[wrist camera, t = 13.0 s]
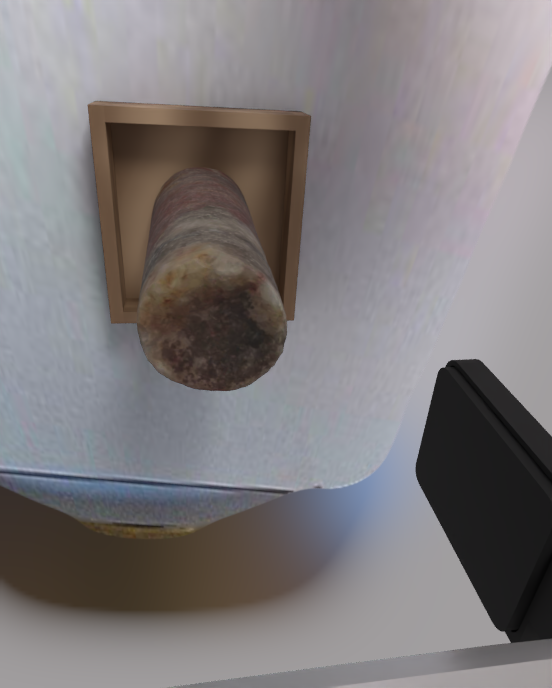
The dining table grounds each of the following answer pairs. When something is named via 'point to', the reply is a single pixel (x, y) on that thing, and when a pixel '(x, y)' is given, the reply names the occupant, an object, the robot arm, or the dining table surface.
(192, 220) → the candle
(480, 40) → the dining table surface
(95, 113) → the wooden tray
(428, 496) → the robot arm
